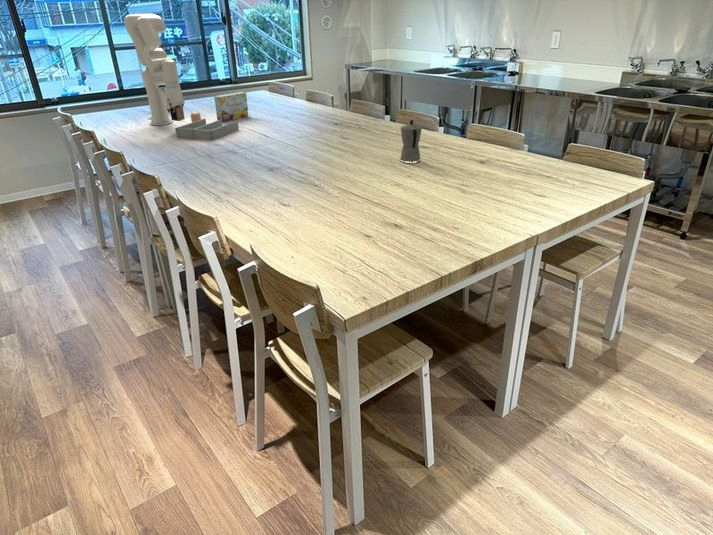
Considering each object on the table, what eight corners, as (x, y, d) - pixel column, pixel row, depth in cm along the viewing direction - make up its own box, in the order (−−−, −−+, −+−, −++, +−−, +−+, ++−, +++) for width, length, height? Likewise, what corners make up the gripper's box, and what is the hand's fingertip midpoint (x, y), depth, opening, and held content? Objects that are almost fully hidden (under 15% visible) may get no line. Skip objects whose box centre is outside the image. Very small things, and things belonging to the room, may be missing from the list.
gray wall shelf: (177, 137, 268) (175, 128, 265) (205, 127, 289) (204, 118, 287) (212, 140, 261) (211, 130, 258) (238, 129, 282) (237, 120, 280)
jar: (190, 127, 290) (188, 113, 286) (196, 125, 295) (194, 111, 291) (198, 127, 288) (196, 114, 285) (204, 125, 293) (202, 112, 289)
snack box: (223, 122, 300) (219, 96, 293) (217, 121, 303) (213, 96, 296) (249, 116, 315) (246, 91, 308) (243, 115, 318) (240, 91, 311)
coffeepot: (397, 157, 226) (398, 117, 217) (417, 156, 226) (419, 116, 218) (403, 167, 212) (404, 125, 204) (424, 166, 213) (426, 124, 204)
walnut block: (171, 120, 276) (169, 107, 272) (177, 118, 280) (175, 105, 276) (179, 121, 274) (176, 108, 271) (184, 119, 278) (182, 106, 275)
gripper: (176, 81, 275) (181, 114, 284) (156, 86, 261) (162, 121, 271) (187, 82, 273) (192, 115, 282) (167, 87, 259) (173, 122, 269)
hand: (177, 117), depth 276 cm, fingers closed on walnut block, 5 cm apart
